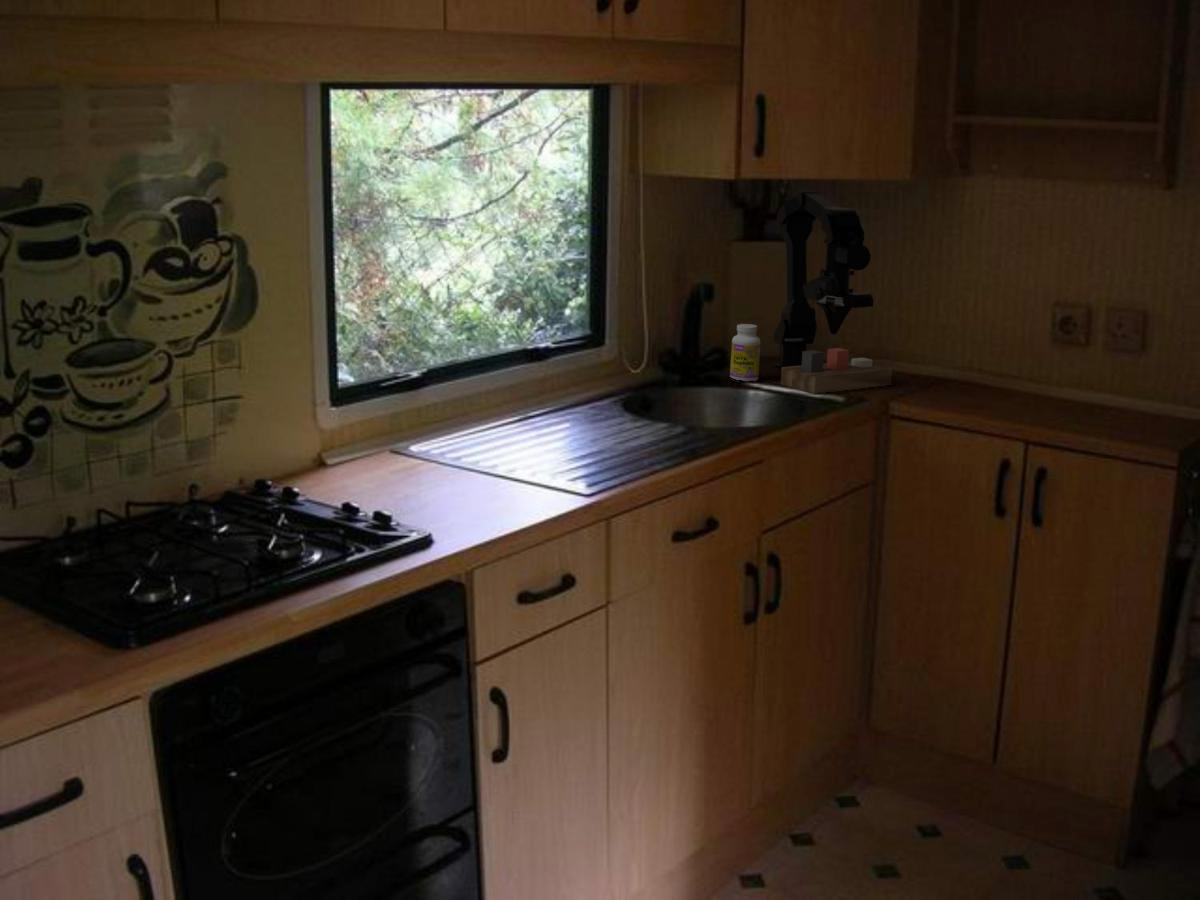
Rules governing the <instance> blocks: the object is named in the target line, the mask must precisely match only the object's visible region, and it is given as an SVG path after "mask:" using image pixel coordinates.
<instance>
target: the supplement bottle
mask: <svg viewBox="0 0 1200 900" xmlns="http://www.w3.org/2000/svg"><path fill="white" fill-rule="evenodd" d="M736 331H737V334H736V335H734V336H733V337H732V339H731V352H730V353H731V354H730V368H729V378H730V377H731V378H733V379H736V380H742V381H754V382H757V380H758V379H759V375H760V374H759V372H760V359H761V358H760V357H761V339H760V337H759V336H757V332H758V325H755V324H751V323H740V324H737V325H736ZM731 378H730V379H731Z"/></svg>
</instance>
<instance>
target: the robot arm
mask: <svg viewBox="0 0 1200 900" xmlns="http://www.w3.org/2000/svg"><path fill="white" fill-rule="evenodd" d="M817 220H818V221H819V222H821V223H820V224H821V226H820V228H821V229H822V230H823V232H824V233H825V235H826V238H824V240H823V243H824V244H826V249H825V263H824V269H820V271H819V277H816V278H813V279H811V280H809V281H808V267H807V266H808V265H807V264H808V262H807V261H808V260H807V258H808V257H807V241H808V239H809V238H810V236H811V234H812V232H813V230H814V223H815V221H817ZM776 221H777V224H778V231H779V233H780V235H781V237H782V238H783V240H784V241H785V245H786V246H785V247H786V248H785V250H786V253H785V254H786V287H787V288H786V291H787V297H786V298H787V301H786V304H785V306H784V308H783V310H782V311H781V314H780V321H779V323H778V324H777V327H776V329H775V331H774V332H773V341H774V343H776V344H779V348H780V349H779V363H774V367H776V368H781V369H782V367H791V366H801V365H802V351H807V348H808V347H807V345H808V344H809V345H813V344H814V342H815V337H816V333H817V329H818V325H817V321H816V314H817V313H816V309H815V308H814V307H812V306H811V304H810V303H809V301H808V300H814V301H817V302H815V304H816V305H817V306H819V307H820V308H821V309H822V310H823V311H824V314H825V317H826V318H825V319H826V320H827V325H828V330H829V332H830V334H831V335H837V334H838V332H839V330H840V328H841V326H842V325H843V322H844V321H845V319H846V317H847V316H848V314H849V313H850V312H851V310H852V308H853V309H858V308H859V309H860V308H872V307H874V300H875V299H874V298H875V297H874V296H873V295H872V294H871V293H867V292H861V291H860V292H859V291H858V292H854V288H852V287H850V285H851V276H854V275H855V271H857V272H859V271H863V270H864V269H866V268H867V267H868V266H869V264H870V262H871V252H870V250H869V249H868V247H867V246H865V245H864V241H865V232H864V228H863V226H862V223H861V221H860V216H859V215H858V213H857V211H856V210H855V209H853V208H848V207H840V206H837V205H836V204H835V203H833V202H831V201H830V200H829V199H827V198H826V197H824V196H823V195H821V193H820V191H819V192H818V191H817V190H801V191H798V192H797V194H796V195H795V196H794V197H792V198H791V199H788V200H786V201H785V202H783V203H782V205H781V206H780V208H779V209H778V211H777V213H776Z"/></svg>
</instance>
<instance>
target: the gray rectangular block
mask: <svg viewBox="0 0 1200 900" xmlns="http://www.w3.org/2000/svg"><path fill="white" fill-rule="evenodd" d="M824 354H825V353H824V352H823V351H818V350H814V349H813V350H806V351H802V368H801V370H802V371H805V372H809V373H815V372H823V363H824V356H825V355H824Z"/></svg>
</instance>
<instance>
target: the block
mask: <svg viewBox="0 0 1200 900" xmlns="http://www.w3.org/2000/svg"><path fill="white" fill-rule="evenodd" d="M851 363H852V359H851V360H848V369H844V370H833V369H829V368H827V362H823V372H815V373H809V372H805V371H802V370H801V368H802V365H801V366H791V367H782V368H781V371H780V372H781V373H780V374H781V376H780V385H781V384H782V386H784V385H785V387H788V388H791V389H795V390H798V389H799V391H801V390H802V392H805V391H806V392H805V393H808V392H809V393H808V394H812V393H813V394H812V395H818V394H817V393H821V394H827V393H826V392H830V393H836V392H837V391H839V392H846V391H845V390H848V391H854V390H853V389H856V390H860V389H859V388H865V389H869V388H868V387H874V388H877V387H876V386H883V387H886V386H885V385H891V386H892V378H893V368H891V367H888V366H883V365H880V364H877V363H876V364H875V363H872V367H864V368H860V367H856V366H852V365H851ZM837 393H838V392H837Z"/></svg>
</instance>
